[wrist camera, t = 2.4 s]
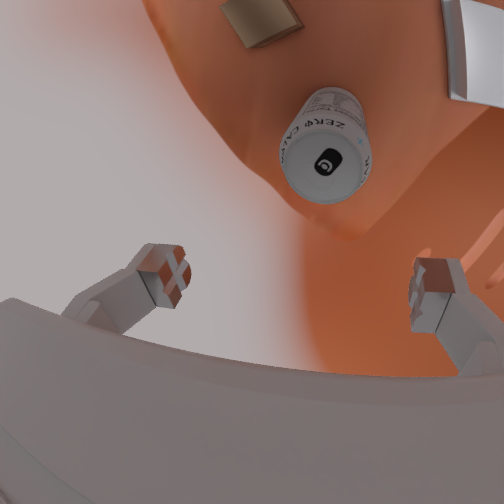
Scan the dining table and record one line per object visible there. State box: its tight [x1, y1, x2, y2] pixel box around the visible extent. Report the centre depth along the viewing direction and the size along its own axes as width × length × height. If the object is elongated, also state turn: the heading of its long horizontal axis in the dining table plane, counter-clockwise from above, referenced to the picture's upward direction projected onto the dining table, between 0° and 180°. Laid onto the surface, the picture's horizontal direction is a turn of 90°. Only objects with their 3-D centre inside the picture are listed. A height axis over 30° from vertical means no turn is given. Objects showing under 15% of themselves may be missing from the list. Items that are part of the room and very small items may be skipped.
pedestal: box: [441, 0, 504, 108], centre depth 16 cm, size 11×11×4 cm
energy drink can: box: [279, 87, 372, 204], centre depth 22 cm, size 6×6×15 cm
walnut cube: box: [219, 0, 304, 49], centre depth 21 cm, size 5×5×5 cm
